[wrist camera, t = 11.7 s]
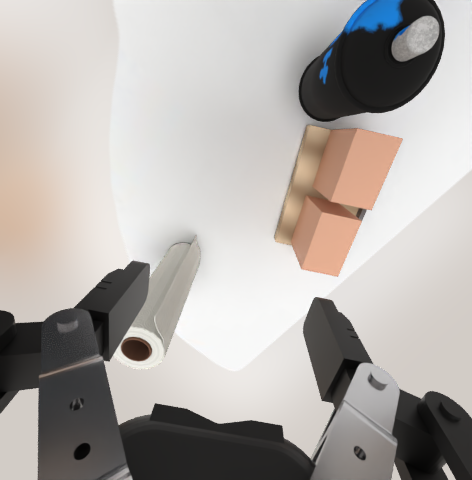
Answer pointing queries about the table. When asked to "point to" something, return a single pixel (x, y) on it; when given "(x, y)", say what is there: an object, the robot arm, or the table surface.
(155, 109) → the table surface
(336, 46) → the aerosol can
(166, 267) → the paper towel roll
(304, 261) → the carton
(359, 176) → the carton faced
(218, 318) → the table surface
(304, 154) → the tan flat block
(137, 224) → the table surface
